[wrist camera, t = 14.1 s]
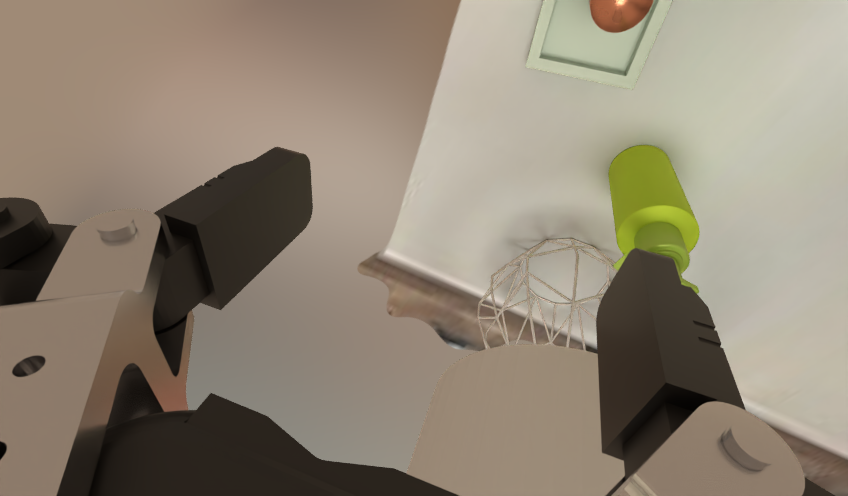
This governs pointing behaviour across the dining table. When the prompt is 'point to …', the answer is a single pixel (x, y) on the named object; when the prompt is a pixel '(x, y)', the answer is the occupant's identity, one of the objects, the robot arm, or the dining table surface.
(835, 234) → the dining table surface
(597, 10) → the grey and copper cylinder
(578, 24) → the tray
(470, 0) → the dining table surface
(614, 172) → the soap dispenser
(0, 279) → the robot arm
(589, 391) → the table lamp
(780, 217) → the dining table surface
